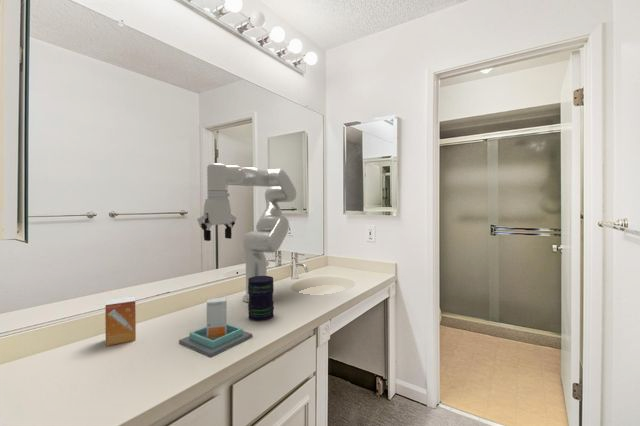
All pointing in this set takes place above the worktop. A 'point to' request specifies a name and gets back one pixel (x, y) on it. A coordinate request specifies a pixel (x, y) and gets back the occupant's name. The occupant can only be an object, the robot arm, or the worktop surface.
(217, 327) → the skincare box
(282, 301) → the worktop surface
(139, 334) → the worktop surface
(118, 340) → the small box
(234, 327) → the tray
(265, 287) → the storage jar
